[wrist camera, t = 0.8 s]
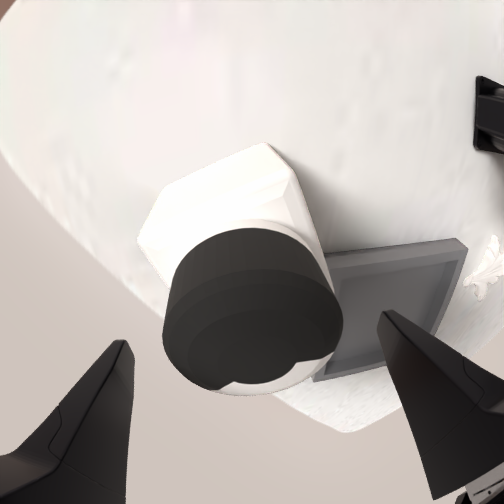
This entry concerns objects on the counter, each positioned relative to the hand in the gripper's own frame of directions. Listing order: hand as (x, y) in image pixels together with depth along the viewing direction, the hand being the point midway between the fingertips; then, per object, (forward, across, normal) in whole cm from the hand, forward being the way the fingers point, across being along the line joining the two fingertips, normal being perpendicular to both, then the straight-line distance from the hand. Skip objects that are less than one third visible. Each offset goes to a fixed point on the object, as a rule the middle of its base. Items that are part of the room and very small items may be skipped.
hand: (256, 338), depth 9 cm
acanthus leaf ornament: (+12, -28, +9) cm, 32 cm away
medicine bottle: (+11, 0, 0) cm, 11 cm away
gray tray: (+11, -13, +11) cm, 20 cm away
